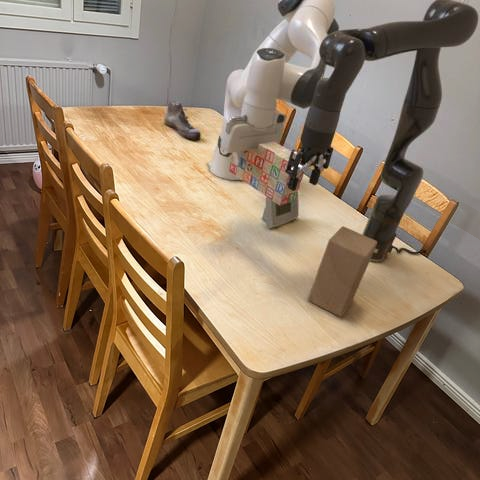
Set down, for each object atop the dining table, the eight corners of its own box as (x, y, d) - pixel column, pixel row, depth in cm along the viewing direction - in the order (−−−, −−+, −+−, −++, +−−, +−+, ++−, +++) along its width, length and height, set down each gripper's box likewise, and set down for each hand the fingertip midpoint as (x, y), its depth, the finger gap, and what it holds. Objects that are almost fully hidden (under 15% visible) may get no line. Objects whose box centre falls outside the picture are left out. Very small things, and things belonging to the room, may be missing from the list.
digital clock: (267, 230, 146) (275, 202, 140) (252, 217, 152) (258, 189, 146) (303, 223, 155) (312, 197, 149) (287, 210, 161) (295, 184, 155)
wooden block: (340, 318, 116) (366, 256, 105) (306, 300, 119) (328, 239, 108) (352, 300, 123) (378, 241, 113) (320, 283, 127) (342, 225, 116)
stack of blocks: (227, 171, 127) (235, 130, 120) (243, 168, 131) (252, 128, 124) (280, 206, 115) (292, 162, 108) (295, 201, 119) (308, 159, 112)
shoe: (204, 141, 203) (208, 115, 196) (182, 142, 197) (185, 115, 190) (182, 121, 220) (185, 97, 213) (161, 121, 214) (164, 96, 207)
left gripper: (236, 121, 109) (226, 172, 116) (291, 116, 122) (279, 162, 129) (220, 112, 112) (212, 162, 120) (275, 108, 125) (264, 153, 133)
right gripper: (313, 134, 97) (295, 198, 106) (350, 128, 107) (330, 188, 115) (289, 122, 102) (273, 184, 110) (326, 117, 111) (308, 176, 119)
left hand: (247, 162), depth 124 cm, fingers closed on stack of blocks, 6 cm apart
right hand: (302, 186), depth 113 cm, fingers open, 8 cm apart
